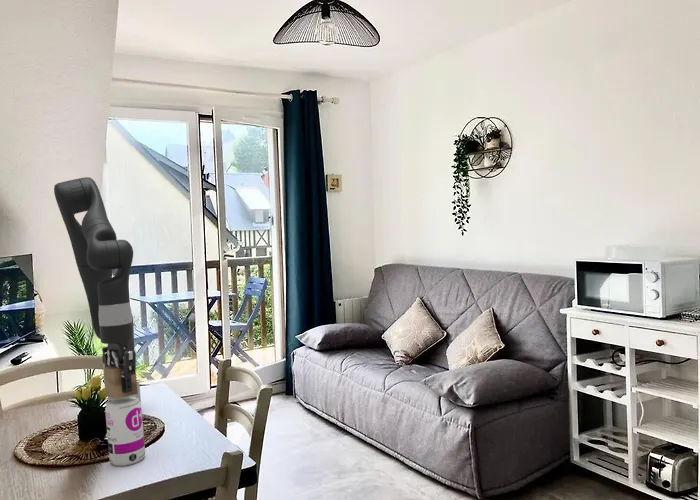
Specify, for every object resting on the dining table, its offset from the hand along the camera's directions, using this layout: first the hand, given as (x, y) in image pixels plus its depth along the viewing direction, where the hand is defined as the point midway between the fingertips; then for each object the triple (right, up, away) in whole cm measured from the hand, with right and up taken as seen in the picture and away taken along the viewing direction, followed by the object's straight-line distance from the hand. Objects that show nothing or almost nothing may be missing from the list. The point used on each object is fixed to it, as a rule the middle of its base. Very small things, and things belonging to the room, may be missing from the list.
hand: (121, 390), depth 147 cm
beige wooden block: (0, -1, 0) cm, 1 cm away
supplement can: (+1, -18, +1) cm, 18 cm away
